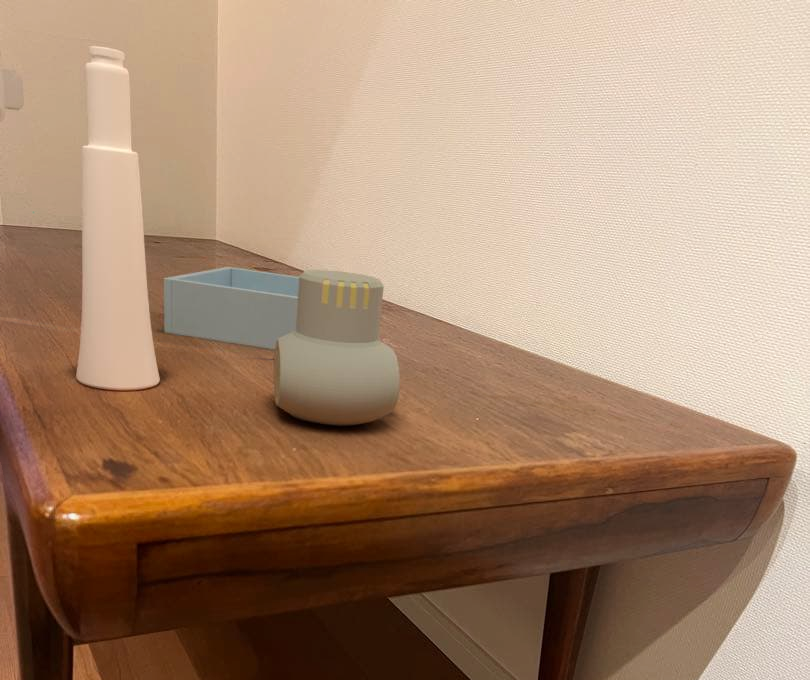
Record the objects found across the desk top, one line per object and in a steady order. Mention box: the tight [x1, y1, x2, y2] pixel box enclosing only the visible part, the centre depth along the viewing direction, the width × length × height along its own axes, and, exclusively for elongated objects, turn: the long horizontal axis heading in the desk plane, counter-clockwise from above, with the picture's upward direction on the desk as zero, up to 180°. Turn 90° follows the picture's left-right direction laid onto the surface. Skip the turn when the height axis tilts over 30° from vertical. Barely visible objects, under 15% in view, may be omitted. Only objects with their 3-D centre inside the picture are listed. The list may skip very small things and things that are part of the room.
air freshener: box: [273, 269, 401, 427], centre depth 56 cm, size 11×8×10 cm
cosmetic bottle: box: [75, 45, 161, 391], centre depth 56 cm, size 6×6×22 cm
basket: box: [163, 266, 299, 350], centre depth 81 cm, size 16×16×6 cm
